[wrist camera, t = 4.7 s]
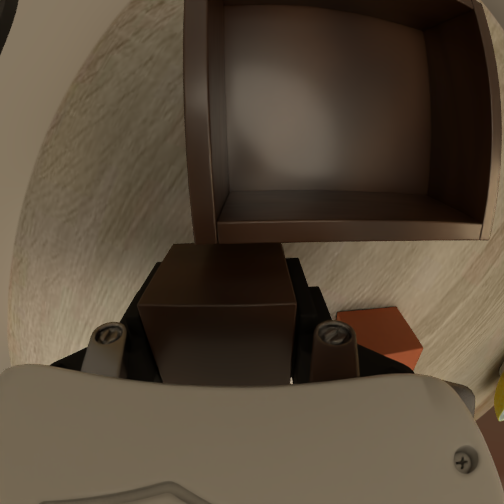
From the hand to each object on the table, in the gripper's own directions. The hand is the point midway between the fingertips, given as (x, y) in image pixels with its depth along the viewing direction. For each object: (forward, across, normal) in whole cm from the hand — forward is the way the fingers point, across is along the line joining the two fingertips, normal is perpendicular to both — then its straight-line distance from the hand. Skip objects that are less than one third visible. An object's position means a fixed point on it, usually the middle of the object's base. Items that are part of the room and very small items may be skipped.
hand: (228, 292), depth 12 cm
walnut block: (0, 0, 0) cm, 0 cm away
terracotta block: (+4, -8, +6) cm, 11 cm away
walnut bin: (+4, -6, -9) cm, 11 cm away
